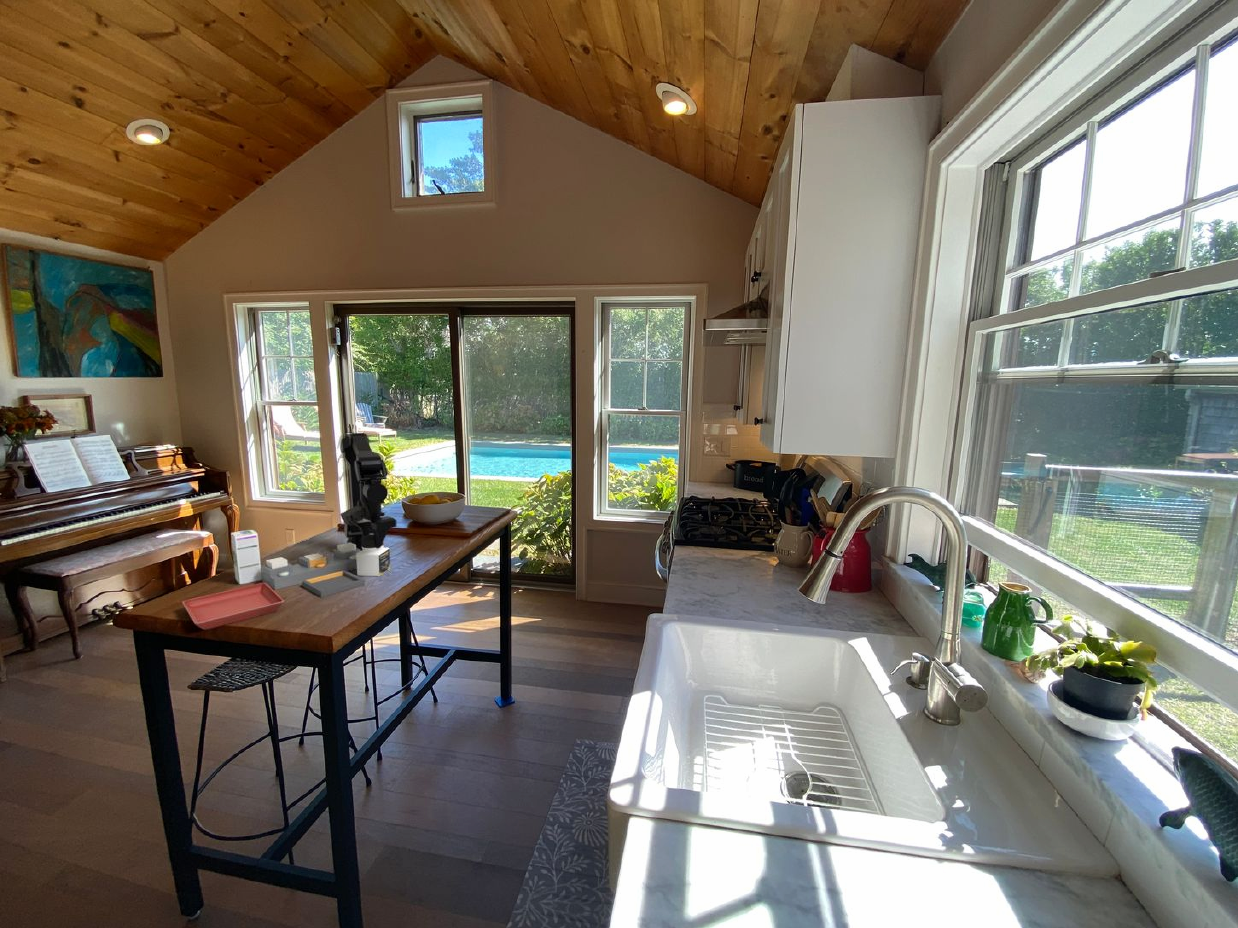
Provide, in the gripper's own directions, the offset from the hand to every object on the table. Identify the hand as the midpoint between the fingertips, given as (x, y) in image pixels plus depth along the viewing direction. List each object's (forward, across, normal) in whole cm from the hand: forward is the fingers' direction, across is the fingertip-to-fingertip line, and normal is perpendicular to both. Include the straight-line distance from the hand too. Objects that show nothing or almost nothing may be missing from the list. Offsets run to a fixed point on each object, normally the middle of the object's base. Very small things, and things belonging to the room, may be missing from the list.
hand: (372, 546), depth 161 cm
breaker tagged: (+6, -13, -12) cm, 19 cm away
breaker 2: (+4, -13, -2) cm, 14 cm away
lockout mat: (+8, +2, -13) cm, 16 cm away
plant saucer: (+9, +1, -37) cm, 38 cm away
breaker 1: (+4, -13, -22) cm, 26 cm away
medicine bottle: (+9, 0, 0) cm, 9 cm away
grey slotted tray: (+8, -12, -12) cm, 19 cm away
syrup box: (+9, -21, -27) cm, 35 cm away
